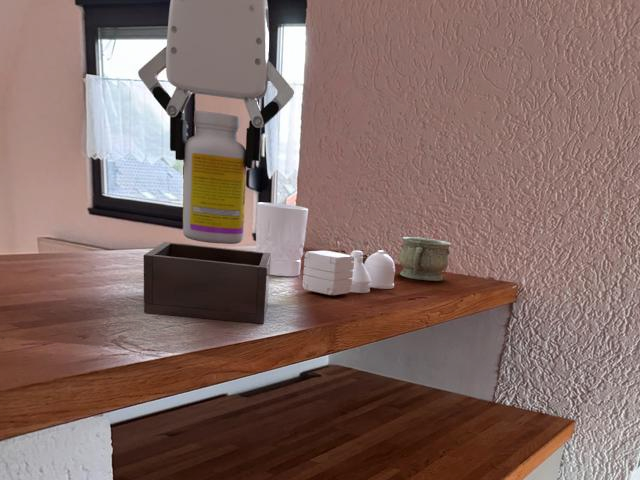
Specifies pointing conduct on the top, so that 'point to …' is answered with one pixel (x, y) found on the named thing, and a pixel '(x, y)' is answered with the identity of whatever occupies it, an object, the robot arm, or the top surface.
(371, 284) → the container set
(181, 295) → the box
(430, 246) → the vessel
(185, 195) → the supplement bottle
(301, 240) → the white cup
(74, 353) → the top surface
